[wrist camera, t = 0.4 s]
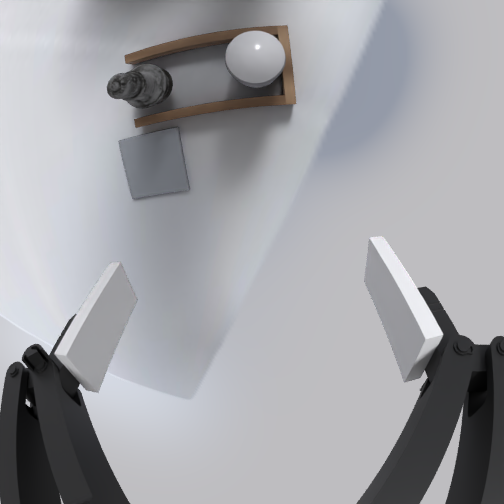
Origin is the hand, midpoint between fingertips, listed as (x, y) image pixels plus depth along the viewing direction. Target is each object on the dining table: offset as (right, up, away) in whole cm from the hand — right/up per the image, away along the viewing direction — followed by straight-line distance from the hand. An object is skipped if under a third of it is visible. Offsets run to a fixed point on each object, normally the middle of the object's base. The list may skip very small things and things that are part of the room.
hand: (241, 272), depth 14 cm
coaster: (-13, +13, +22) cm, 29 cm away
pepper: (+1, +24, +15) cm, 28 cm away
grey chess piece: (-12, +23, +16) cm, 31 cm away
